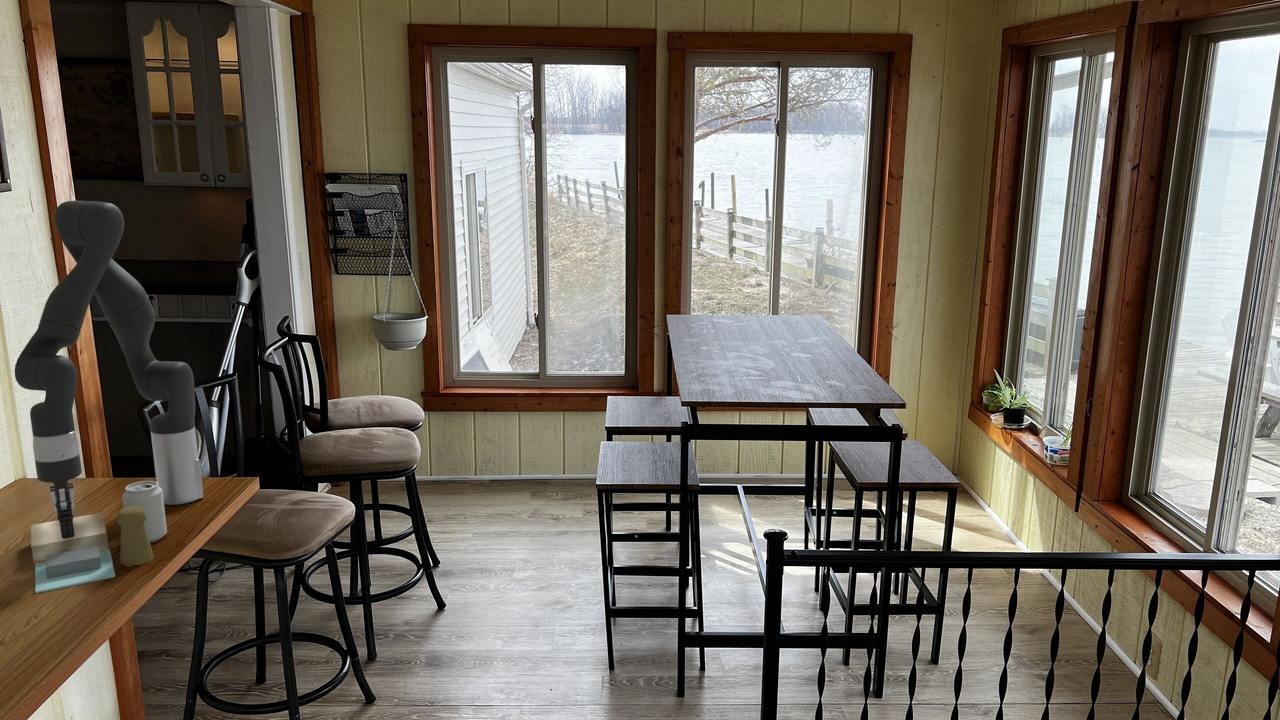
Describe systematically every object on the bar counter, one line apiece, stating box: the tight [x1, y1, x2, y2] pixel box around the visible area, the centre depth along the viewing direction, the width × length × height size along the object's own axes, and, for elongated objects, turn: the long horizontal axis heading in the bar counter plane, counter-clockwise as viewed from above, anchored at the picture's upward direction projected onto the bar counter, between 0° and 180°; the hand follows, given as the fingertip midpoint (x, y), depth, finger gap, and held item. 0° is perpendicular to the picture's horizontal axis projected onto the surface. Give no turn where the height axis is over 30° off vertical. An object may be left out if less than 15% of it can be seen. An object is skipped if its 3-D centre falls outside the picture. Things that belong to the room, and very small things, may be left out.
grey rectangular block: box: [45, 546, 101, 579], centre depth 183 cm, size 9×6×2 cm, turn 122°
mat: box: [34, 549, 116, 594], centre depth 182 cm, size 13×14×1 cm
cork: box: [116, 506, 155, 567], centre depth 186 cm, size 6×6×11 cm
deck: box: [30, 512, 110, 565], centre depth 193 cm, size 13×13×4 cm
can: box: [122, 480, 168, 544], centre depth 197 cm, size 8×8×12 cm
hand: (68, 536), depth 186 cm, fingers closed
